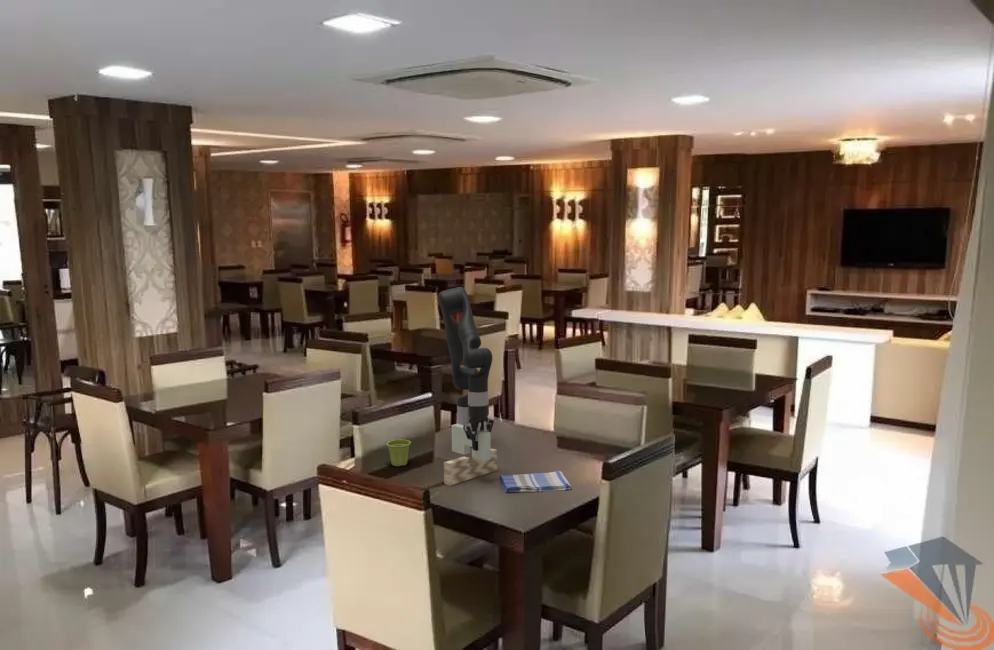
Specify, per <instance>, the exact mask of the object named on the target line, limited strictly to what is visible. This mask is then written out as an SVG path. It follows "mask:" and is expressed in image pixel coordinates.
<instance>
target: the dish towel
mask: <svg viewBox="0 0 994 650" xmlns="http://www.w3.org/2000/svg"><path fill="white" fill-rule="evenodd" d="M499 479H500V482H501V485H502V487H503V490H504V494H506V493H507V492H509V494H510V493H534V492H556V491H570V490H571V487H572V485H571V484H570V483H569V481H568V479H567V478H566V476H564V473H563V472H562V471H561V470H556V471H553V472H552V471H549V472H538V473H537V472H536V473H526V474H525V473H521V474H518V473H517V474H504V475H503V474H500V475H499Z"/></svg>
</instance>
